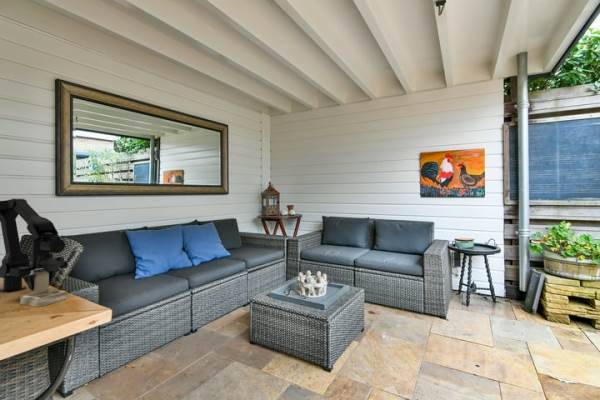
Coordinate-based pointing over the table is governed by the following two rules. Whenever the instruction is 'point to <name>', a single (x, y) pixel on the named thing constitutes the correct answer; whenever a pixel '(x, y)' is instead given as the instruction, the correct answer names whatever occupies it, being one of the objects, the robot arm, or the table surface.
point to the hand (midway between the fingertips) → (40, 288)
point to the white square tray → (43, 297)
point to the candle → (41, 281)
